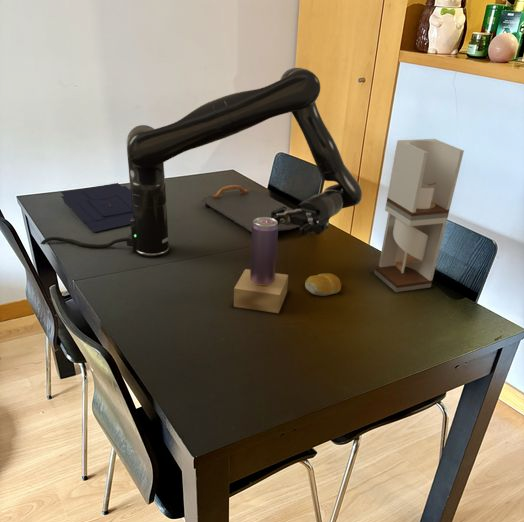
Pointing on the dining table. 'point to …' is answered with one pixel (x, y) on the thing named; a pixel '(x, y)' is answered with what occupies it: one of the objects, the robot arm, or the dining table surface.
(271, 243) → the beverage can
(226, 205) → the serving tray
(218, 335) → the dining table surface
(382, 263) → the architectural tower model
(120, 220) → the folded navy cloth
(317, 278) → the bread roll
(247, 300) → the birch block
